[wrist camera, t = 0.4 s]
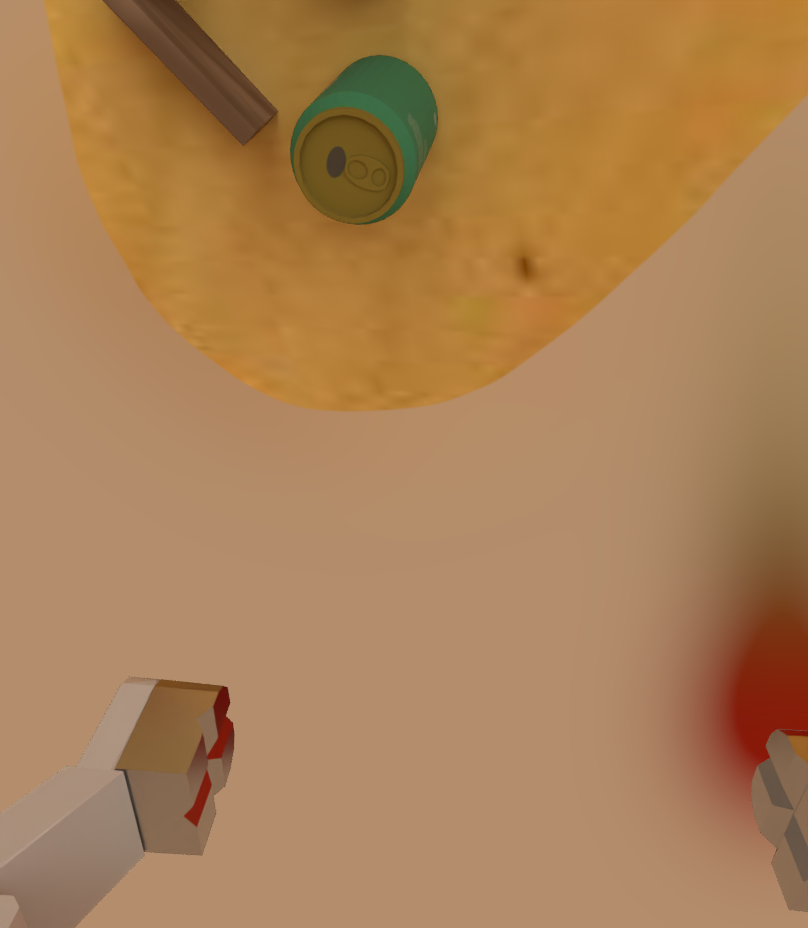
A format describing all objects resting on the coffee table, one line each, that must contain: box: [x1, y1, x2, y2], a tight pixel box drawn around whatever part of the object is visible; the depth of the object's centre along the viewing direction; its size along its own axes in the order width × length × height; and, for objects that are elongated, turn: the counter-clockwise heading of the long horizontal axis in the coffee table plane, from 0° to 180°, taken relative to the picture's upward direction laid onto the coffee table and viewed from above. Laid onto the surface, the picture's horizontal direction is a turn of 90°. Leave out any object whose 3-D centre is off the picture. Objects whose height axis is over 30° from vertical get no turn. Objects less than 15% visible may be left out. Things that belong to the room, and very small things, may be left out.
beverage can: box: [290, 55, 438, 225], centre depth 49 cm, size 8×8×12 cm
